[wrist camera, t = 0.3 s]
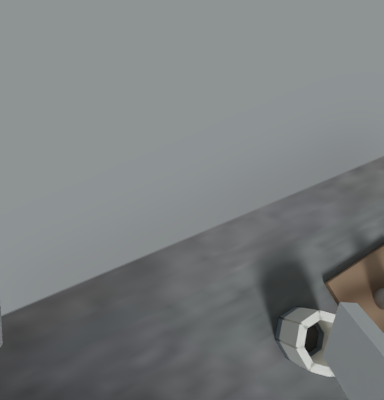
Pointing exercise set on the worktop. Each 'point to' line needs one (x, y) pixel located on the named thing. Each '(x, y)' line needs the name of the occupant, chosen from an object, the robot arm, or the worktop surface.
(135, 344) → the worktop surface
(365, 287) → the pin board
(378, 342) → the robot arm
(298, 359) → the cream sleeve
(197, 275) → the worktop surface
